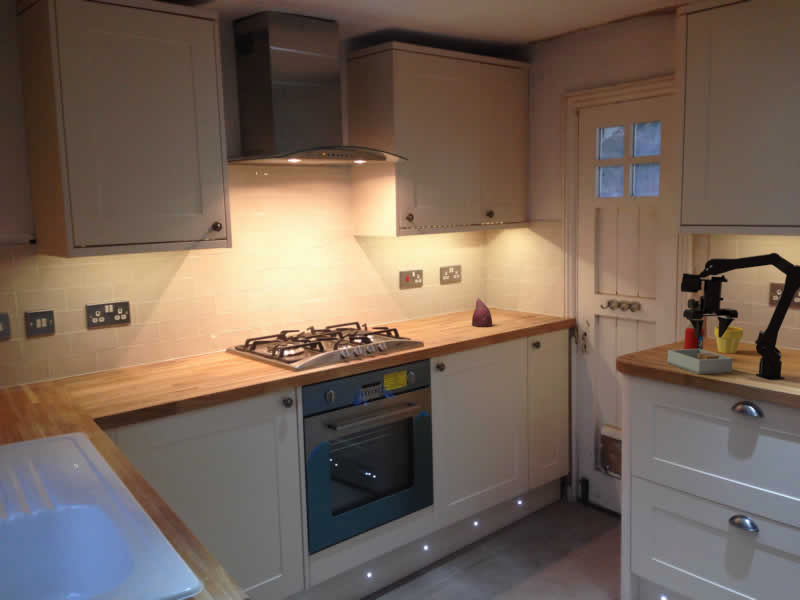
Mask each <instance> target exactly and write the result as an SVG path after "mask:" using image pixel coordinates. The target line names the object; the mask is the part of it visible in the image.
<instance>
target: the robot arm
mask: <svg viewBox="0 0 800 600" xmlns="http://www.w3.org/2000/svg"><path fill="white" fill-rule="evenodd" d="M764 266H773V267H775V268H776V269H777V270H779V271H780V272H781V273H783V274H785V278H784V285H783V288H782V292H781V294H780V297H779V298H778V301H777V303H776V306H775V309H774V311H773V313H772V314H771V315H772V316H771V317H770V320H769V322H768V324H767V326H766V328H765V329H764V331H763V330H761V329H760V330H759V333H758V336H757V338H756V339H755V341H754V345H755V350H756V353H757V354H759V355H760V356H761V357H760V358H759V359H760V361H759V365H758V373H755V376H756V377H760V378H762V379H767V380H779V379H781V380H782V379H785V376H782V365H783V364H782V363H783V361H782V360H781V359H782V351H780V350H779V349H778V348H777V347H776V345H777V340H778V335H779V331H780V329H781V327H782V325H783V323H784V321H785V318H786V315H787V312H788V311H789V309H790V306H791V303H792V302H793V299H794V296H795V295H796V293H797V292H798V290H799V289H800V265H799V264H793V263H792V262H790V261H789V260H787V259H786V258H784V257H783V256H781V255H780V254H779V253H777V252H771V253H768V254H767V253H766V254H760V255H751V256H744V257H737V258H726V257H725V258H724V257H713V258H711V259H708V260H707V261H706V262H705V265H704V269H703V270H702V271H700V272H699V274H698V273H689V272H683V274H682V278H681V283H680V292H681V293H691V294H692V293H693V294H699V292H700V291H702V290H703V295H700V298H699V300H696V299H695V298H689V299H688V300H687V303H686V304H687V308H686V309H685V310H684V311H683V313H682V317H683V318H685V319H686V320H688V321H689V322H690V323H691V325H693V328H694V331H695V335H696V338H700V335H701V330H702V328H703V325H704V321H705V320H703V318H704V317H716V318H717V320H718V326H719V331H718V335H719V337H722V336H723V334H724V333H725V331H726V329H727V328H728V326H730V325H731V324H732V322H734V321H736V320H735V319H738V318H739V311H738V310H737V309H734V308H729V307H725V308H724V307H721V302H722V301H724V297H722V291H723V290H722V289H723V288H722V287H723V283H728V282H729V279H728V278H727V277H726V276H725V275H724V274H726V273H728V272H731V271H734V270H741V269H749V268H757V267H764ZM721 274H722V275H721ZM718 275H721V276H718ZM709 276H711V278H708V277H709Z"/></svg>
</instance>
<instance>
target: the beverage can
mask: <svg viewBox="0 0 800 600" xmlns="http://www.w3.org/2000/svg"><path fill="white" fill-rule="evenodd" d="M704 333H705V331H704V328H703V327H702V330H701V335H700V338H696V335H695V331H694V328H693V325H692V324H689V325H687V326H686V328H685V330H684V340H683V341H684V343H683V350H684V349H702V350H704V338H705V337H704V335H705V334H704Z"/></svg>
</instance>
